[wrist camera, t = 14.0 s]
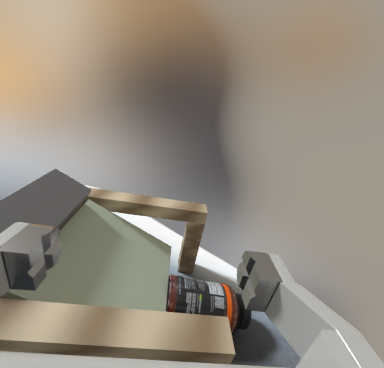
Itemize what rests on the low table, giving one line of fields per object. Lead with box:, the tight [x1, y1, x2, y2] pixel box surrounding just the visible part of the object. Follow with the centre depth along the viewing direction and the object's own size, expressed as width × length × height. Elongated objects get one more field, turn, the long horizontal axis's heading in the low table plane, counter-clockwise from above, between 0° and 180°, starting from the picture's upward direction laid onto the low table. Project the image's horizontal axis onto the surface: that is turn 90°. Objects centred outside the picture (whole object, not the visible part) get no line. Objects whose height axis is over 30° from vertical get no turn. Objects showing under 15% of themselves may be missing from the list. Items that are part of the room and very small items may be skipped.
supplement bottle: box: [166, 275, 251, 333], centre depth 26 cm, size 6×6×11 cm
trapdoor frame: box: [0, 187, 235, 364], centre depth 24 cm, size 20×20×12 cm
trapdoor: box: [0, 169, 171, 312], centre depth 22 cm, size 19×14×3 cm
